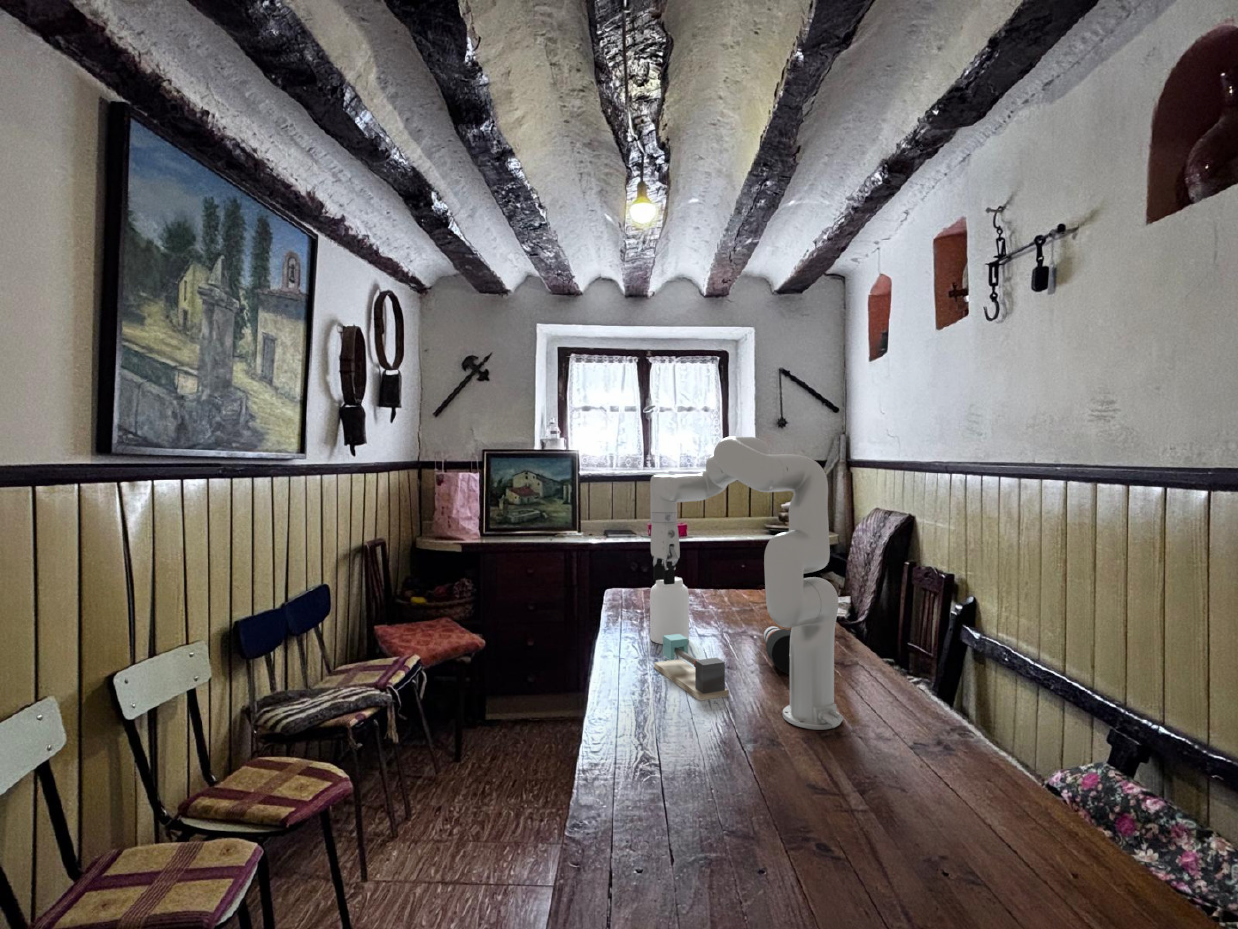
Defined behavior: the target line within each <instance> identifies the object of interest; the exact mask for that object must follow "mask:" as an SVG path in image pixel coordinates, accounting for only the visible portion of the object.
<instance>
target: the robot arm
mask: <svg viewBox="0 0 1238 929" xmlns="http://www.w3.org/2000/svg"><path fill="white" fill-rule="evenodd" d="M736 481H738V482H739V483H741V484H743V485H746V486H747V487H748V488H750V489H752V490H755V491H756V492H761V493H779V492H780V493H781V492H792V493H793V495H792V497H791V500H790V502H789V503H790V504H789V508H788V531H784V532H780V533H777V534H775V535H774V536H772V537H771V538H770V539H769V541H768V543H767V545H766V547H765V550H764V555H763V556H764V557H763V558H764V559H763V560H764V562H763V565H764V568H763V569H764V584H765V585H764V588H765V591H764V592H765V604H766V608H767V613H768V615H769V617H770V618H771V619H772V621H773V622H774V623H775V624H777V625H778V626H779V627H783V628H787V629H789V628H790V629H791V630H790V631H791V634H790V674H789V704H788V705H786V706H785V707H784V708H783V709H782V718H783V719H784V720H785V721H786V722H788V723H790V724H792V725H793V726H796V727H800V728H802V729H808V730H818V731H819V730H824V731H825V730H831V729H835V728H838V726H840V725H841V724H842V722H843V721H844V716H843V715H842V714H841V713H840V712H839V711H838V710H837V704H836V703H835V630H836V622H837V617H838V613H839V595H838V592H837V590H836V588H835V587H834V586H833V584H832V583H831V582H829V581H828V580H827V579H825V578H821V577H816V576H813V577H811V576H810V577H804V574H809V573H814V572H817V571H820V570H822V569H824V568H826V566H828V565H829V564H828V563H829V562H830V556H831V553H830V552H831V549H830V545H831V544H830V530H829V529H830V528H829V527H830V525H829V510H828V509H829V508H828V505H829V503H828V499H829V484H828V482H829V481H828V477H827V475H826V473H825V471H824V469H823V467H822V466H821V465H820V464H819V463H818V462H817V461H815V460H814V459H813V458H811V457H808V456H805V455H801V454H792V453H791V454H785V453H783V454H771V450H770V447H769V445H768V444H767V443H766V442H765V440H762V439H760V438H758V437H755V436H727V437H724V438H723V439H721V440H720V441H719V442H718V443H717V444H716V446H715V448H714V449H713V454H711V455H710V456H709V457H708V458H707V459H706V462H705V471H702V472H700V473H689V474H688V473H687V474H683V473H682V474H655V475H654V474H653V475H652V476H651V477H650V483H649V484H650V493H649V494H650V524H651V527H650V528H651V529H650V554H651V557H652V558H651V559H652V560H653V561H652V565H653V581H656V580H664V584H665V585H667V584H674V583H675V577H676V574H675V572H676V571H675V570H676V568H677V567H676V566H677V564H678V561H679V559H680V557H681V556H680V554H681V553H680V552H681V551H680V534H679V527H678V503H685V502H687V503H688V502H701V501H705V500H707V499H710V498H712V497H714V496H716V495H719V494H720V493H722V492H724V491H725V490H726V488H727V487H728V485H730V484H732V483H733V482H736Z"/></svg>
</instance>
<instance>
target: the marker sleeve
mask: <svg viewBox="0 0 1238 929" xmlns="http://www.w3.org/2000/svg"><path fill="white" fill-rule="evenodd" d="M688 644H689V640H688V638H686V637H684V636H682V635H680V634H674V635H665V636H663V644H662V656H664V657H666V658H667V659H669V661H670V660H675V653H674V648H675V647H677V648H679V649H680V650H682V651H684V652H685V653H687V654H689V652H688V646H689V645H688Z"/></svg>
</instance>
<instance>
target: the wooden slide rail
mask: <svg viewBox="0 0 1238 929" xmlns="http://www.w3.org/2000/svg"><path fill="white" fill-rule="evenodd" d="M675 654H676V655H677V656H678V657H680V658H682V659H683V660H682V659H680V658H679V659H674V660H670V659H669V660H663V661H658V662H656V661H655V662H654V664H653V666H654V669H655V670H657V671H658V672H659V673H661V674H662V675H663V676H665V677H666V678H667V679H669V680H671V682H673V683H675V684H676V685H677V686H679V688H682V689H683V690H684V691H686V692H687V693H689V695H691V696H693V697H694V699H697V700H698V702H699V701H700V702H701V701H706V700H707V701H708V700H712V699H720V698H724V697H725V698H727V697H729V689H728V688H726V662H725V661H723V660H721V658H719V657H710V658H702V659H699V658H695V657H694V656H692V655H690V654H689V653H688V654H687V653H685V652H684V651H682V650H680V649H679V648H677V647H675V648H674V655H675ZM684 660H685V661H687V662H688V663H690V664H691V665H690V664H688V663H687V662H685V661H684ZM692 665H693V666H692Z"/></svg>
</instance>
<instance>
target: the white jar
mask: <svg viewBox="0 0 1238 929" xmlns="http://www.w3.org/2000/svg"><path fill="white" fill-rule="evenodd" d="M689 593H690V592H689V588H688V586H686V585H685V584H684V582H683V578H682V577H678V576H675V583H674V584H667V585H665V584H664V580H655V583H654V585H652V587H651V588H650V593H649V615H650V616H649V632H650V633H649V638H650V640H651V641H652V642H653V643H656V644H660V645H663V636H665V635H674V634H680V635H682V636H684V637H686V638H688V641H689V639H690V617H689V616H690V594H689Z"/></svg>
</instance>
